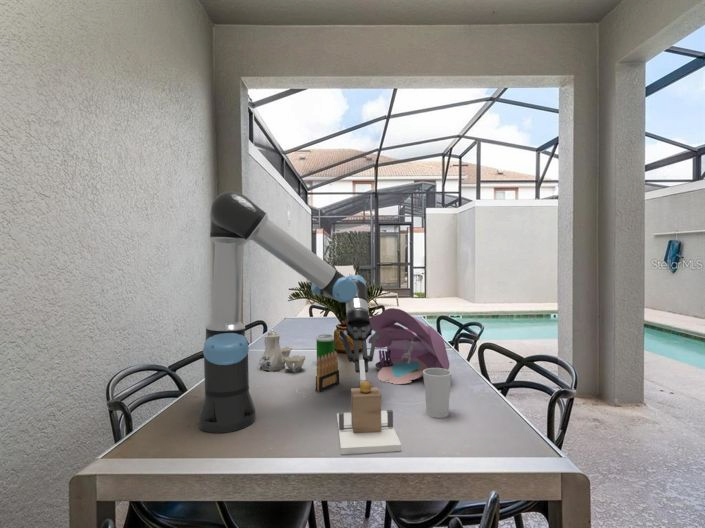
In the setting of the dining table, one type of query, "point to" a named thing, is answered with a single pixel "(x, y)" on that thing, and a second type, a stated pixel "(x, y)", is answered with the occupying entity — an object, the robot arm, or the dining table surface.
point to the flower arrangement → (406, 347)
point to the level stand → (367, 436)
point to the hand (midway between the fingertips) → (362, 381)
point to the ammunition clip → (327, 372)
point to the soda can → (325, 345)
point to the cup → (437, 391)
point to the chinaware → (278, 355)
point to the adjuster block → (365, 408)
